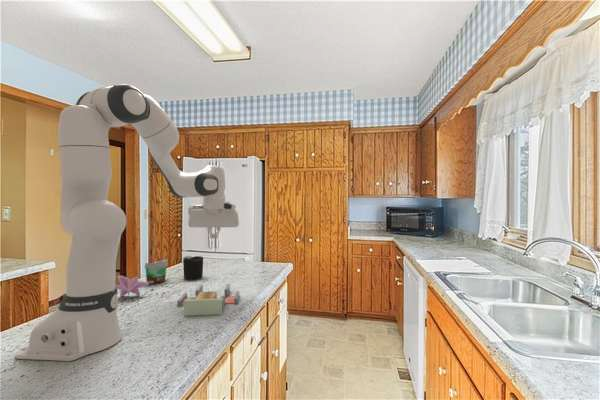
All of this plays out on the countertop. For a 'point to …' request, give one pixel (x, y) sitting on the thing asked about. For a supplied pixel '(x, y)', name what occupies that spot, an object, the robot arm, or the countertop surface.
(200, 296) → the honey block
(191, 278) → the pen holder
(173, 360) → the countertop surface
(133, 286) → the lily
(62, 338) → the robot arm
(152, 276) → the food container
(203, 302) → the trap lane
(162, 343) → the countertop surface
